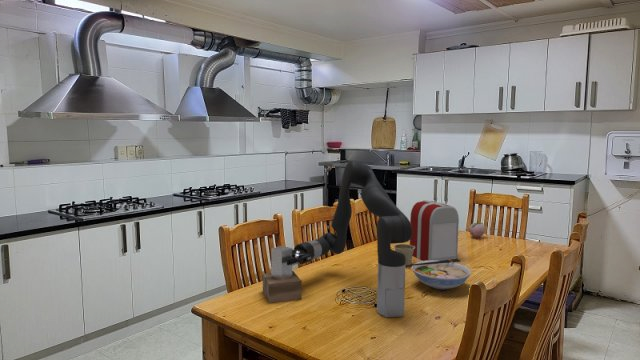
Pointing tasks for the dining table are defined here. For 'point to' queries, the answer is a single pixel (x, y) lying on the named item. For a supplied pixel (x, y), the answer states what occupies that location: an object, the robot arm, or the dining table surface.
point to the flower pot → (405, 251)
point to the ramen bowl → (441, 273)
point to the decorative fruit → (477, 229)
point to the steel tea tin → (281, 262)
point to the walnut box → (282, 288)
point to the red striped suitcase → (434, 231)
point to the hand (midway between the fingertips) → (279, 260)
